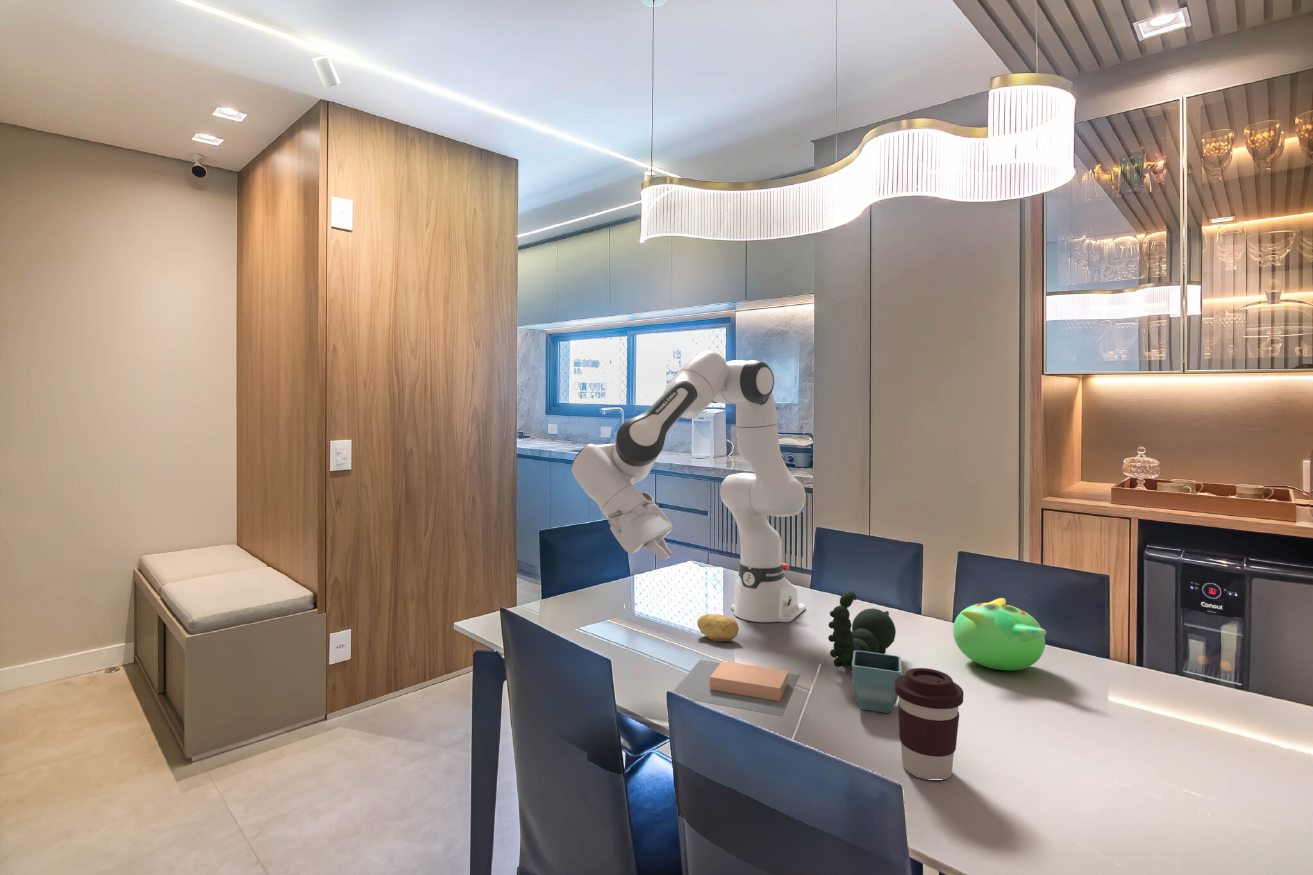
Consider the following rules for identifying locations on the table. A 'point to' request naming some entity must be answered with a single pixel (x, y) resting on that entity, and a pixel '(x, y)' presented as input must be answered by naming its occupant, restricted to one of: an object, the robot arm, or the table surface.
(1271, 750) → the table surface
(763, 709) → the mat
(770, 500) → the robot arm
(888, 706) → the flower pot
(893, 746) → the table surface
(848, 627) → the toy figurine
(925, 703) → the coffee cup
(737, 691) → the block
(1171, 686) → the table surface
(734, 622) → the potato
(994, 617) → the squishy toy
